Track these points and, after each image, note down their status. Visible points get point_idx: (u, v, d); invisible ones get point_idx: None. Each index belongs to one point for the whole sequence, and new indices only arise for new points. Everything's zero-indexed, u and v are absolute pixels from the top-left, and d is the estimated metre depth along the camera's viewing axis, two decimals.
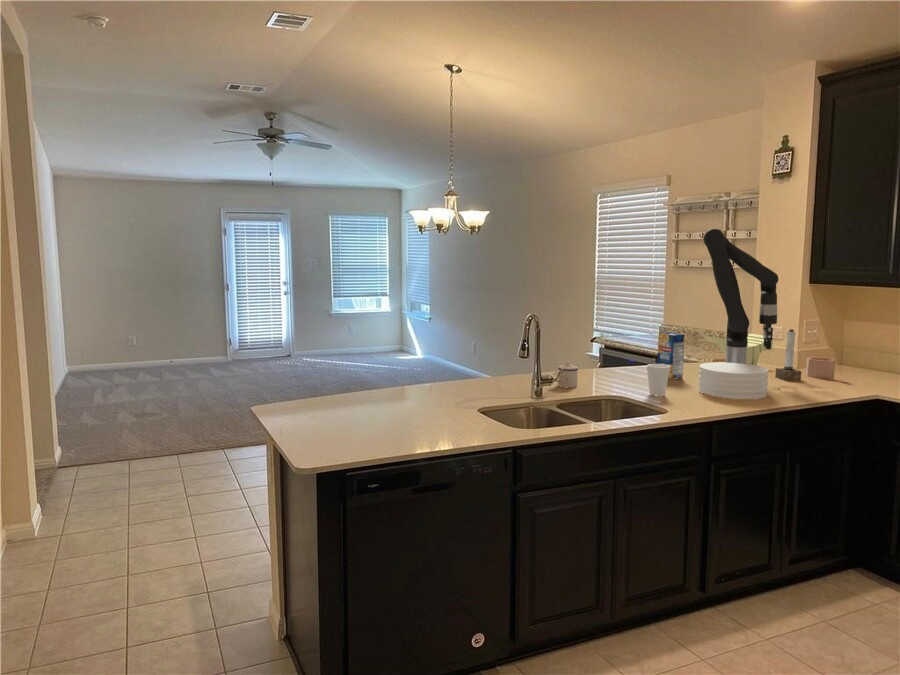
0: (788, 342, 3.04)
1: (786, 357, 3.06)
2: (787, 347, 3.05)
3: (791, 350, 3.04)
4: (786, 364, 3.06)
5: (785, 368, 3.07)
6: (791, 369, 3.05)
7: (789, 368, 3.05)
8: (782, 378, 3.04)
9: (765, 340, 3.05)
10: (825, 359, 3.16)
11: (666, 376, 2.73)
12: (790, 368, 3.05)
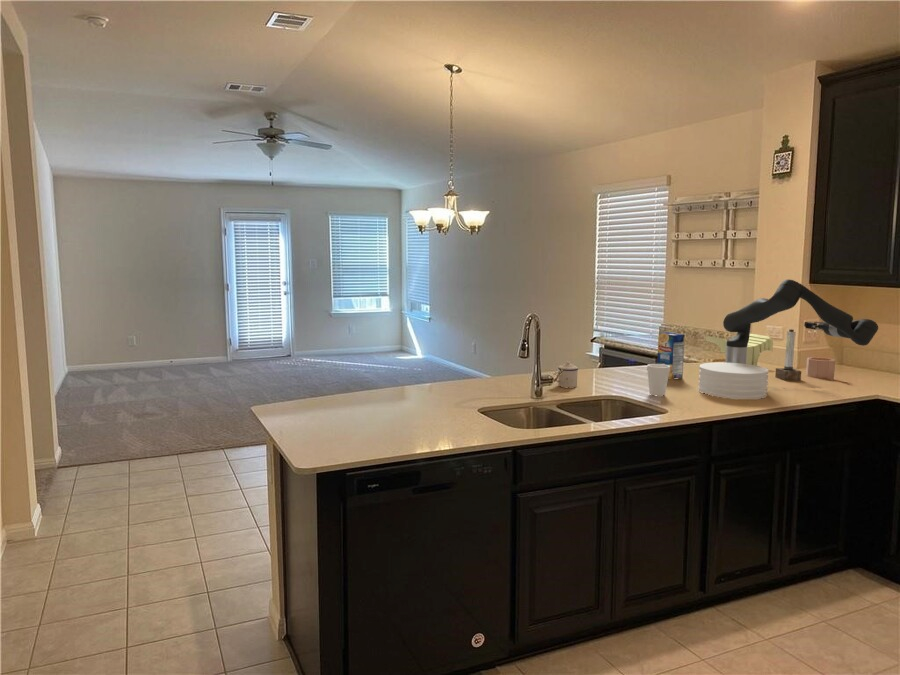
0: (788, 342, 3.04)
1: (786, 357, 3.06)
2: (787, 347, 3.05)
3: (791, 350, 3.04)
4: (786, 364, 3.06)
5: (785, 368, 3.07)
6: (791, 369, 3.05)
7: (789, 368, 3.05)
8: (782, 378, 3.04)
9: None
10: (825, 359, 3.16)
11: (666, 376, 2.73)
12: (790, 368, 3.05)
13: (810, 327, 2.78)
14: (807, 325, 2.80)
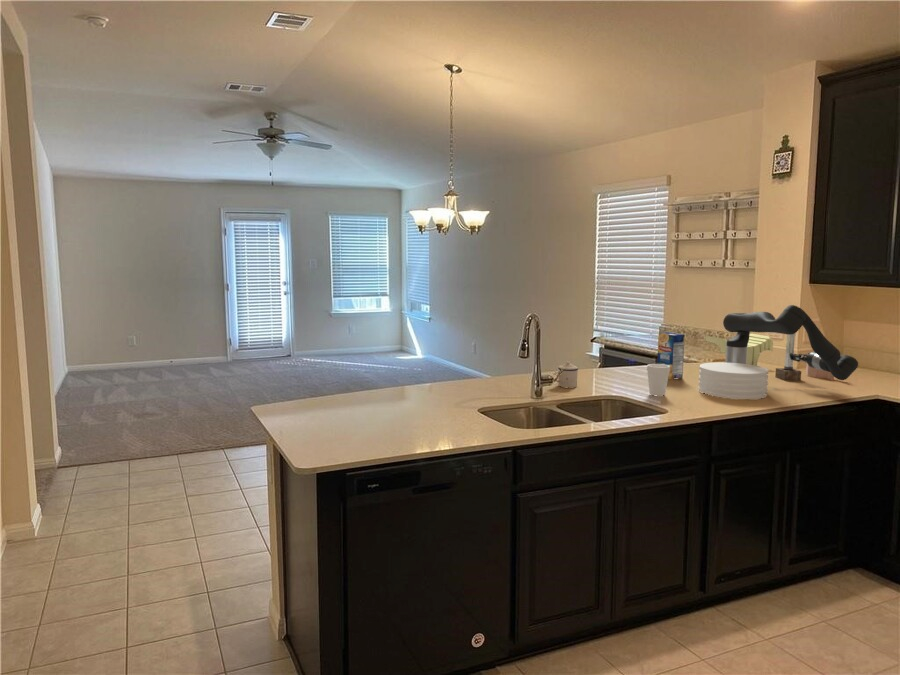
0: (788, 342, 3.04)
1: (786, 357, 3.06)
2: (787, 347, 3.05)
3: (791, 350, 3.04)
4: (786, 364, 3.06)
5: (785, 368, 3.07)
6: (791, 369, 3.05)
7: (789, 368, 3.05)
8: (782, 378, 3.04)
9: None
10: None
11: (666, 376, 2.73)
12: (790, 368, 3.05)
13: (794, 359, 2.89)
14: (792, 357, 2.92)
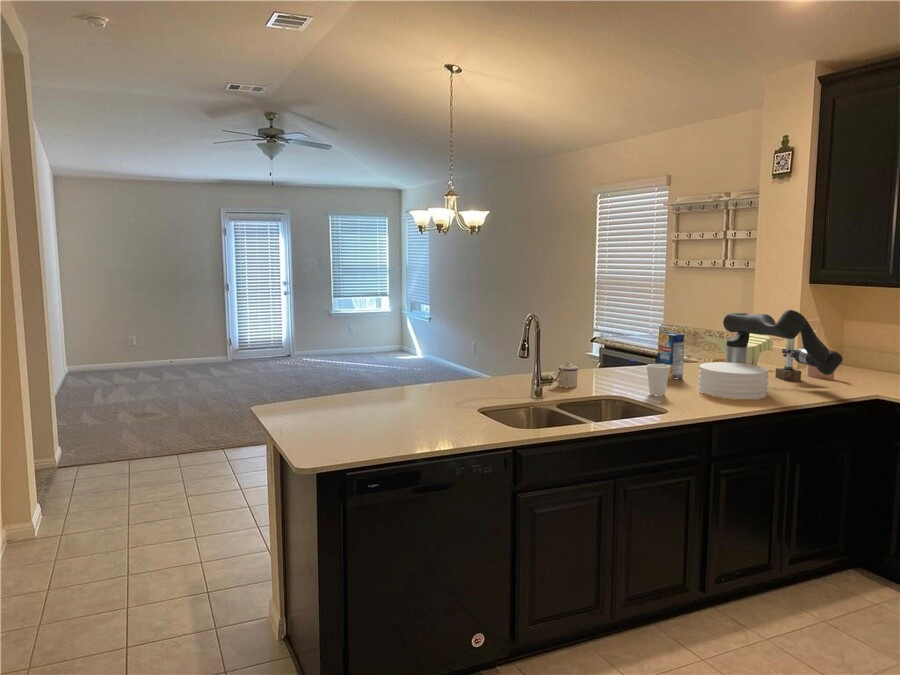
0: (788, 342, 3.04)
1: (786, 357, 3.06)
2: (787, 347, 3.05)
3: None
4: (786, 364, 3.06)
5: (785, 368, 3.07)
6: (791, 369, 3.05)
7: (789, 368, 3.05)
8: (782, 378, 3.04)
9: None
10: None
11: (666, 376, 2.73)
12: (790, 368, 3.05)
13: (783, 354, 3.00)
14: None
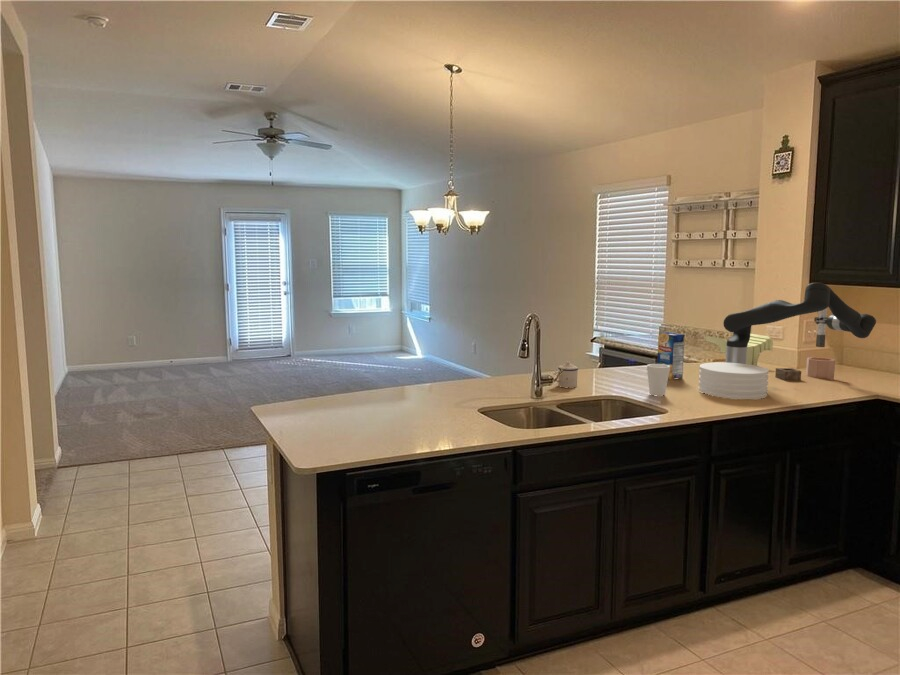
0: None
1: (818, 325, 3.08)
2: (819, 315, 3.08)
3: None
4: (818, 332, 3.08)
5: (817, 336, 3.09)
6: (823, 337, 3.07)
7: (822, 336, 3.07)
8: (782, 378, 3.04)
9: None
10: (825, 359, 3.16)
11: (666, 376, 2.73)
12: (822, 336, 3.07)
13: (815, 322, 3.03)
14: None
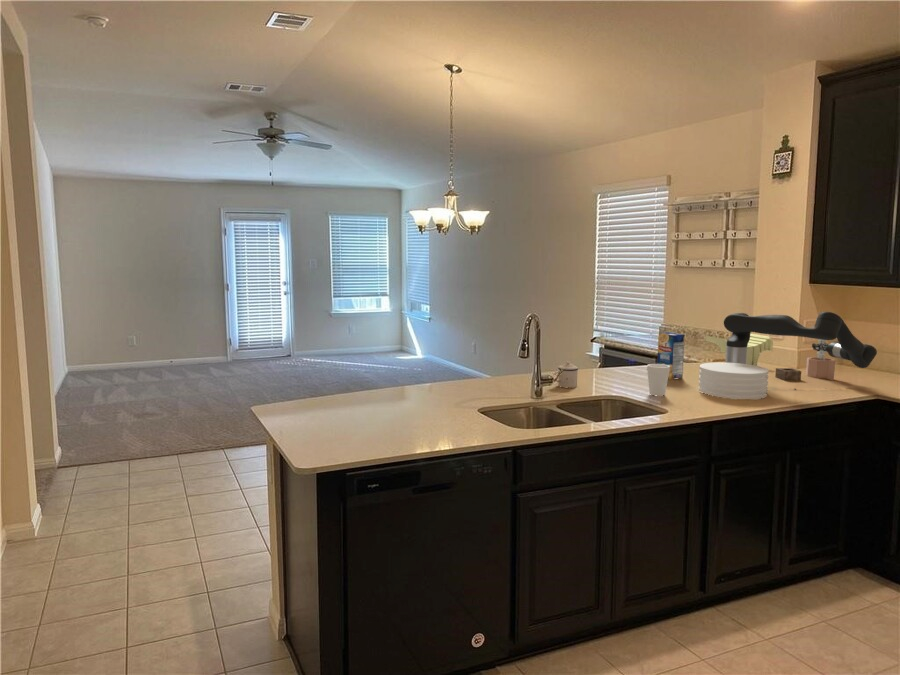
0: (819, 340, 3.12)
1: (818, 355, 3.13)
2: None
3: None
4: None
5: None
6: None
7: None
8: (782, 378, 3.04)
9: None
10: (825, 359, 3.16)
11: (666, 376, 2.73)
12: None
13: (815, 349, 3.07)
14: (814, 347, 3.09)
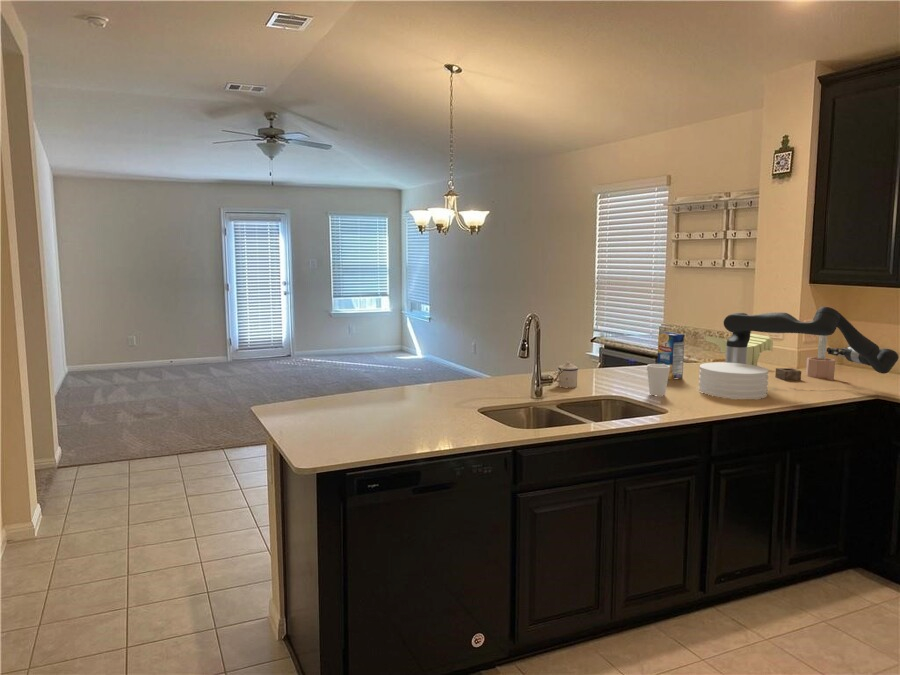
0: (820, 341, 3.11)
1: (818, 355, 3.13)
2: (819, 346, 3.12)
3: (823, 348, 3.12)
4: None
5: None
6: None
7: None
8: (782, 378, 3.04)
9: None
10: (825, 359, 3.16)
11: (666, 376, 2.73)
12: None
13: (832, 353, 2.93)
14: (829, 351, 2.96)
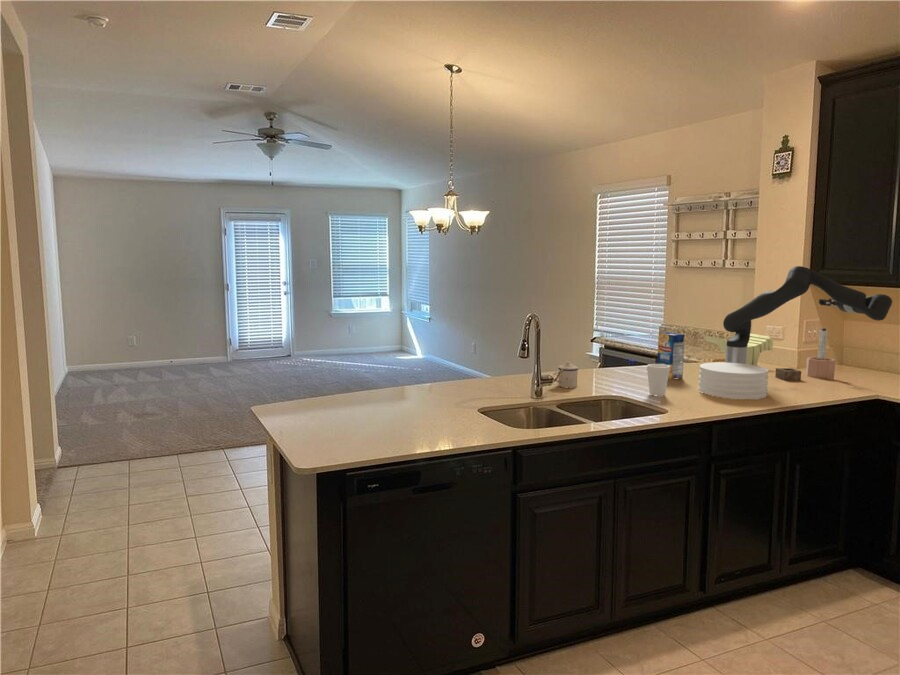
0: (820, 341, 3.11)
1: (818, 355, 3.13)
2: (819, 346, 3.12)
3: (823, 348, 3.12)
4: None
5: None
6: None
7: None
8: (782, 378, 3.04)
9: None
10: (825, 359, 3.16)
11: (666, 376, 2.73)
12: None
13: (825, 304, 2.81)
14: (822, 302, 2.84)
